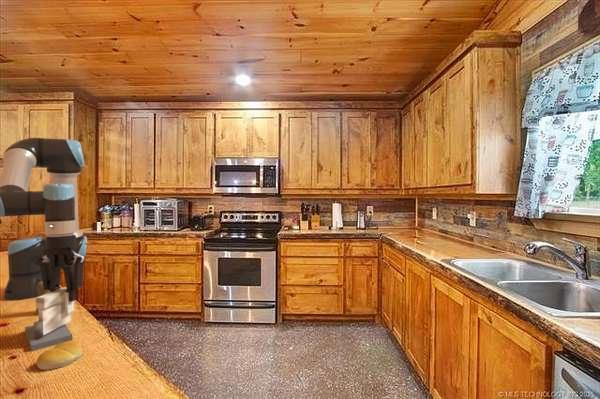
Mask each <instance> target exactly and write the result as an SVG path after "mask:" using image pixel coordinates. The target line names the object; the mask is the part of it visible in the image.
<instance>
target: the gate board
mask: <svg viewBox="0 0 600 399" xmlns="http://www.w3.org/2000/svg"><path fill="white" fill-rule="evenodd" d="M66 324H67V323H66ZM66 324H64V325H62V326H60V327H59V328H57V329H55V330H53V331H51V332H49V333H47V334H45V335H43V336H42V337H40V338H34V324H33V325H28V326H25V327H24V333H25V336H26V340H27V341H28V345H29V348H30V351H31V352H33V351H37V350H41V349H44V348H45V349H46V348H48V347H51V346H56V345H58V344H60V343H63V342H71V341H73V334H72V332H71V330H70V329H69V327H68V326H67V325H66Z"/></svg>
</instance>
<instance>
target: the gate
mask: <svg viewBox="0 0 600 399" xmlns="http://www.w3.org/2000/svg"><path fill="white" fill-rule="evenodd" d="M66 290H67V287H66V286H64V287H61V288H60V289H58V290H55V291H53V292H50V293H47V294H45V295H42V296H39V297H38V296H37V297H35V310H36V309H38V314H39V315H38V321H37V320H36V321H35V322H33V325H34V338H40V337H42V336H43V335H45V334H47V333H49V332H51V331H53V330H55V329H57V328H59V327H60V326H62V325H64V324H68V323H70V322H72V312H70V313H68V314H65V292H66Z"/></svg>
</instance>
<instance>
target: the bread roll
mask: <svg viewBox="0 0 600 399" xmlns="http://www.w3.org/2000/svg"><path fill="white" fill-rule="evenodd" d="M83 353H84V351H83V349H82V347H81V346H80V344H78V343H77V342H74V341H66V342H63V343H59V344H56V345H54V347H53V348H51V349H47V350H45V351H43V352H41V354H39V356H38V357H37V360H36V366H37V368H38V369H40V370H42V371H49V370H50V371H51V370H55V369H59V368H63V366H64V367H65V366H68V365H70V364H72V363H73V362H74V361H77V360H78V359H80V358H81V356H82V355H83Z"/></svg>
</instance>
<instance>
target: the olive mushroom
mask: <svg viewBox="0 0 600 399" xmlns="http://www.w3.org/2000/svg"><path fill="white" fill-rule="evenodd" d="M36 290H37V291H38V296H37V297H39V296H42V295H45V294H47V293H50V290H44V288H43V281H41V282H39V283H38V284H37V285H36ZM35 316H39V314H38V309H36V308H35Z"/></svg>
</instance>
